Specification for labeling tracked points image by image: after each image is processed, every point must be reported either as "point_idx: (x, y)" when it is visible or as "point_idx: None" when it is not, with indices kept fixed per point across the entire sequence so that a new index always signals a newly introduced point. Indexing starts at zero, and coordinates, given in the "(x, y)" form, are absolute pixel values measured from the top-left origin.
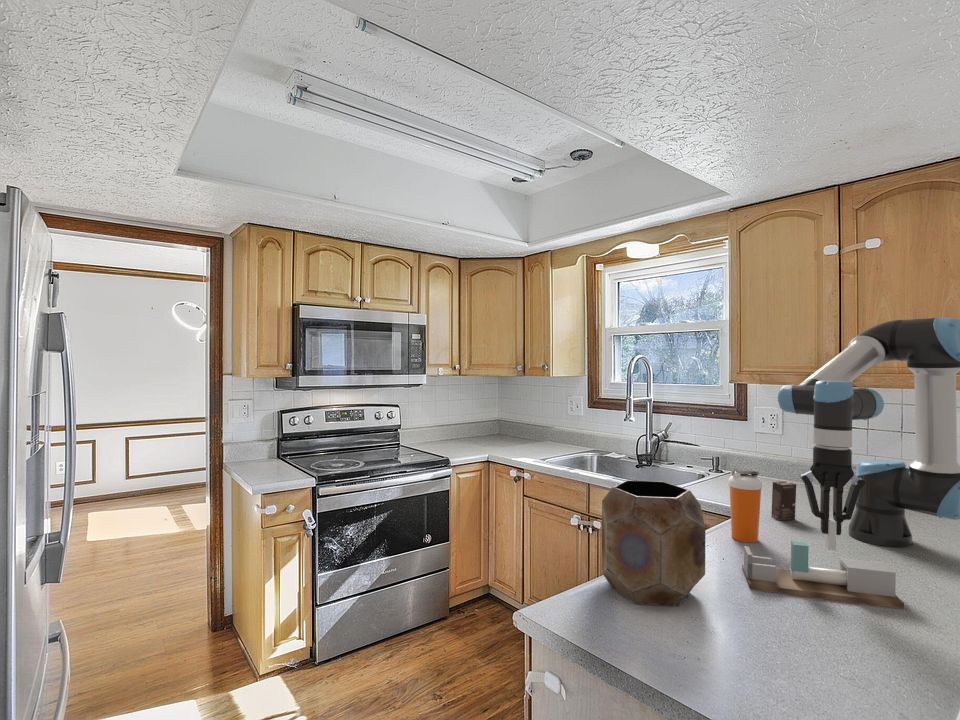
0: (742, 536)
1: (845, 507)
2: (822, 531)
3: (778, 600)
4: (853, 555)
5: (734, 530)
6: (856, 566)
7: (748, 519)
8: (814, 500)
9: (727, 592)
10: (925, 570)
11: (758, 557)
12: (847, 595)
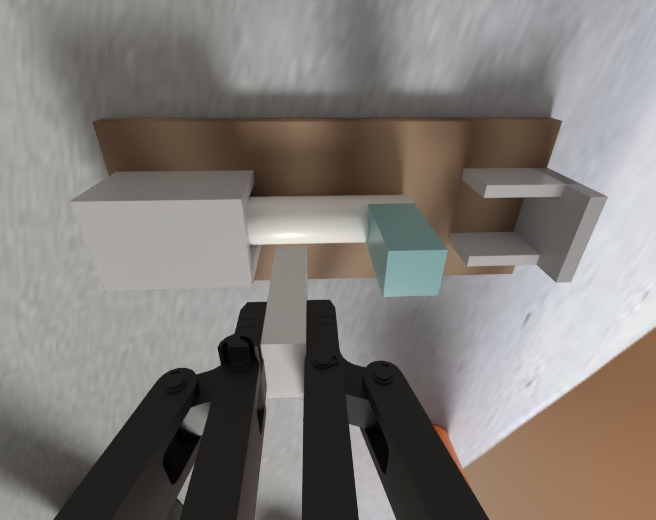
0: None
1: (172, 479)
2: (334, 306)
3: (492, 46)
4: None
5: (454, 451)
6: (207, 220)
7: None
8: (435, 487)
9: (644, 60)
10: (42, 396)
11: (510, 256)
12: (262, 128)
